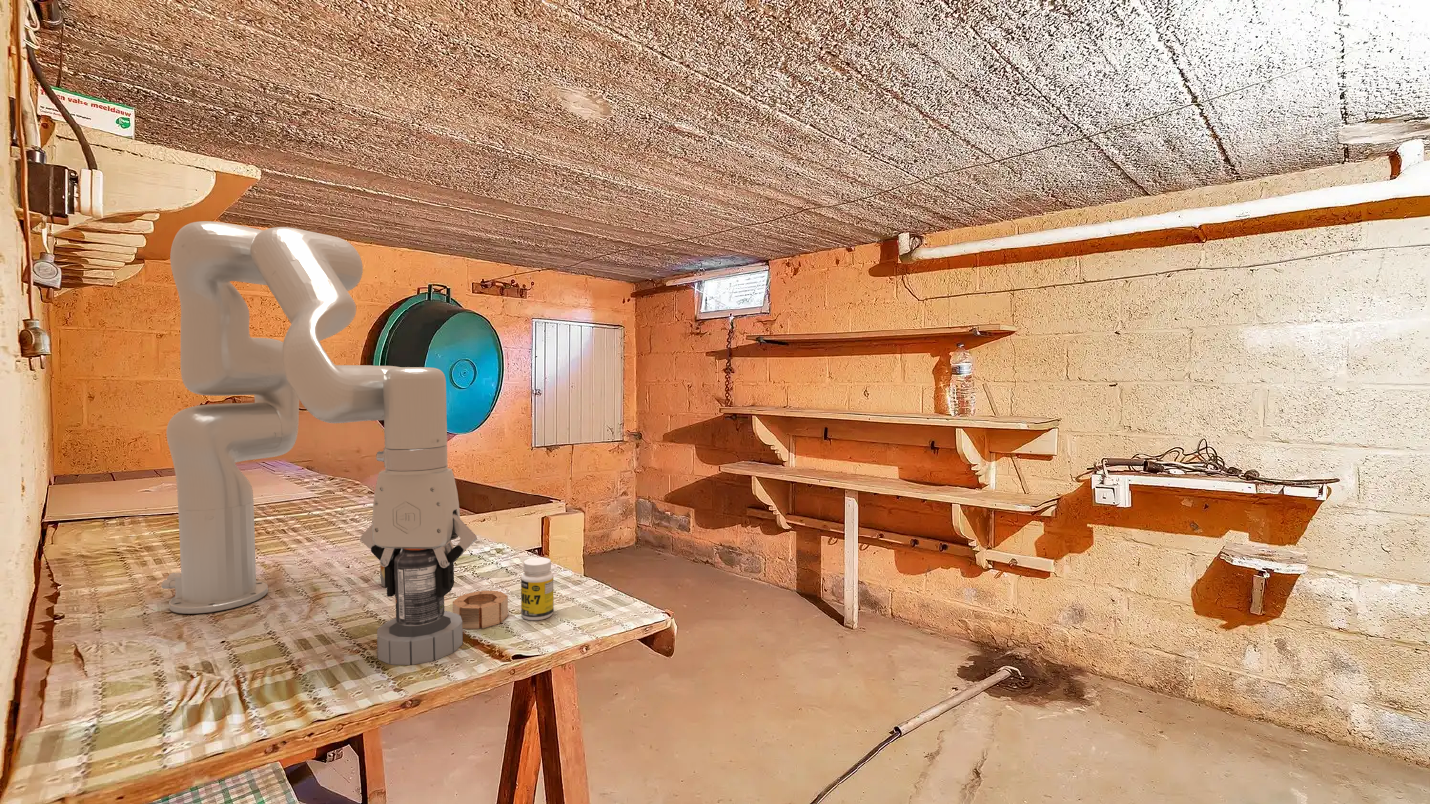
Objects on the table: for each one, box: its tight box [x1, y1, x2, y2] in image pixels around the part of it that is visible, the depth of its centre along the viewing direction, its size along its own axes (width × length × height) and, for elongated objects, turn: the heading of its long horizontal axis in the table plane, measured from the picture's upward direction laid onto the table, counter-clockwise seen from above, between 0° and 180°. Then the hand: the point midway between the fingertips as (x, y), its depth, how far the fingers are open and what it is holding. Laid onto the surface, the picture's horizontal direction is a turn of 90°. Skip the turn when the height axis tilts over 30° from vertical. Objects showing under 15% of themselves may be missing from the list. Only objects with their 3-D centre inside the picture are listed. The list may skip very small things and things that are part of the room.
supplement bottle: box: [520, 556, 555, 621], centre depth 97 cm, size 5×5×8 cm
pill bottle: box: [394, 549, 446, 626], centre depth 86 cm, size 6×6×11 cm
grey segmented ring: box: [376, 610, 464, 666], centre depth 86 cm, size 10×10×3 cm
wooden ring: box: [452, 590, 509, 630], centre depth 96 cm, size 7×7×3 cm
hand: (419, 592), depth 86 cm, fingers closed on pill bottle, 6 cm apart
